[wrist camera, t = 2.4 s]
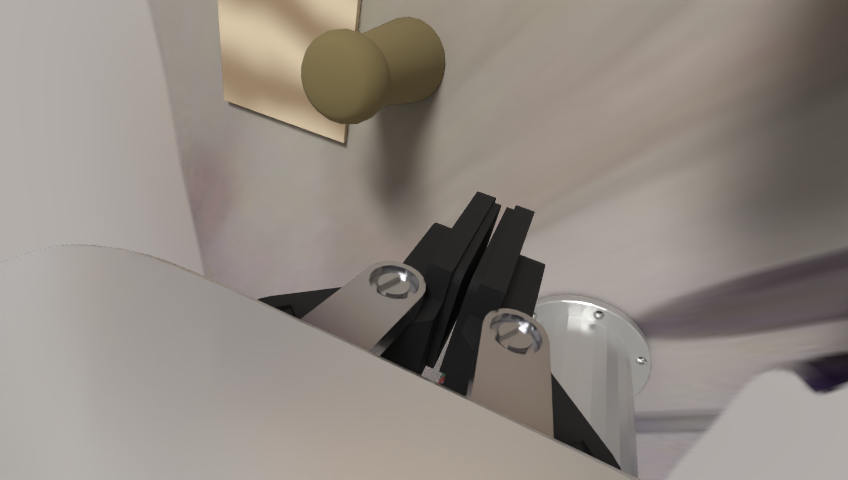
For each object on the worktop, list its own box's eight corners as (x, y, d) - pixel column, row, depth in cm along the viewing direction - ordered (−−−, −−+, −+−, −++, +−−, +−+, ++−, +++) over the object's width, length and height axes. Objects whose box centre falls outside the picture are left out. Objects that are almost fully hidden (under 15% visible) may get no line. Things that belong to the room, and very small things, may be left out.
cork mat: (346, 141, 37) (343, 143, 37) (228, 98, 40) (224, 100, 39) (373, -118, 27) (369, -120, 27) (213, -151, 30) (208, -154, 29)
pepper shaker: (414, 118, 34) (343, 158, 25) (359, 65, 33) (268, 87, 24) (461, 56, 30) (399, 78, 21) (400, -3, 30) (311, -7, 21)
